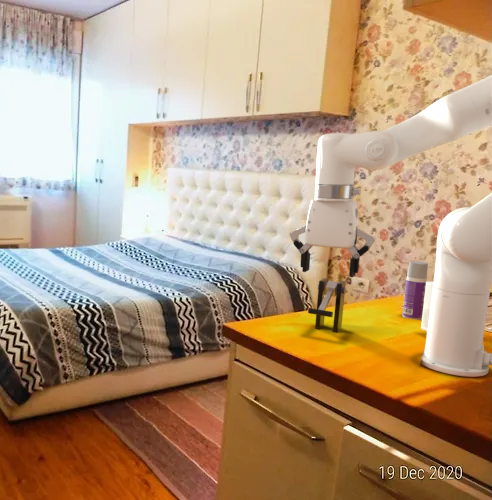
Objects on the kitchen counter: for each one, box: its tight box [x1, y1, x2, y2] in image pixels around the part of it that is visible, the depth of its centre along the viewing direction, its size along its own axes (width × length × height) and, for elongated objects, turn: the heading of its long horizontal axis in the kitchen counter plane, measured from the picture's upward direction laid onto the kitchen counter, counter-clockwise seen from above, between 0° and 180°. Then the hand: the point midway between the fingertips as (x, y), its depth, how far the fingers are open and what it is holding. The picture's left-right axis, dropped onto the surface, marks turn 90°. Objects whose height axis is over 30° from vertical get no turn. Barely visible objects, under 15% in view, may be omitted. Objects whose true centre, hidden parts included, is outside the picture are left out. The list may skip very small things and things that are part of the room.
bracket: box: [314, 277, 347, 334], centre depth 119 cm, size 10×8×13 cm
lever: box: [307, 280, 339, 318], centre depth 115 cm, size 12×5×2 cm, turn 148°
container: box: [401, 260, 429, 321], centre depth 136 cm, size 5×5×15 cm
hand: (328, 273), depth 110 cm, fingers open, 9 cm apart
